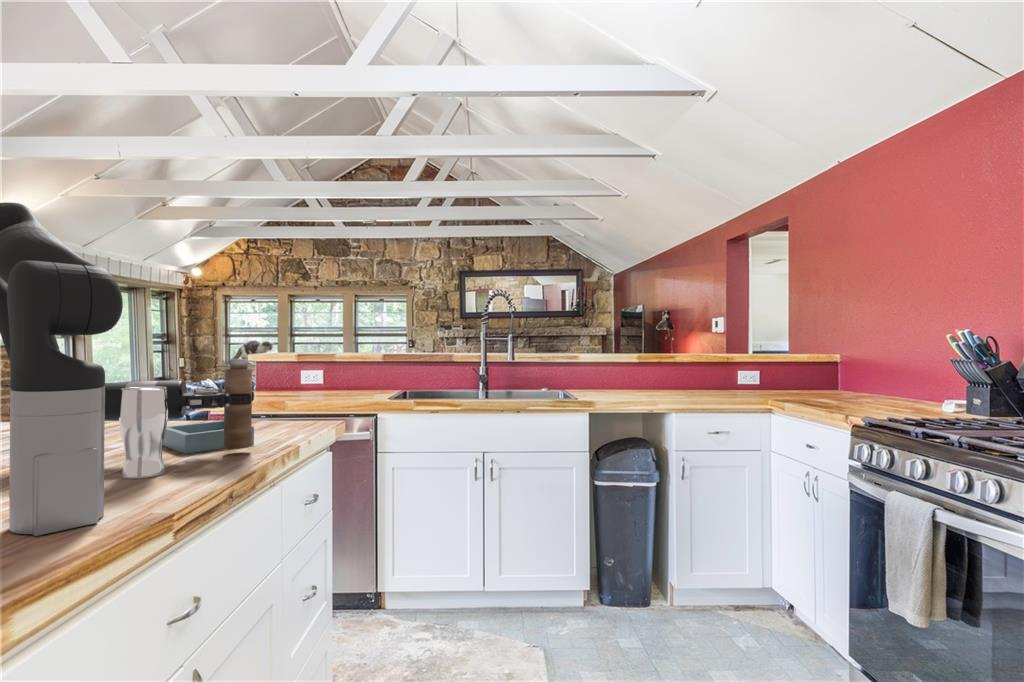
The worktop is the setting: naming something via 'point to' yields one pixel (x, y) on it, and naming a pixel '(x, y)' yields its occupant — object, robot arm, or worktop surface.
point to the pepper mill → (238, 406)
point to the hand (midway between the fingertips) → (252, 397)
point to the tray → (197, 437)
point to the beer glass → (143, 430)
